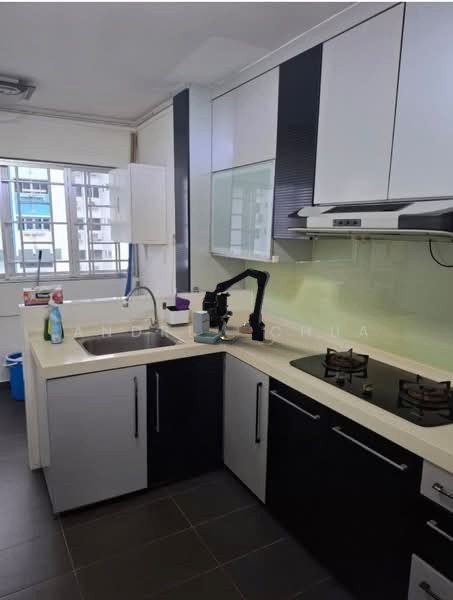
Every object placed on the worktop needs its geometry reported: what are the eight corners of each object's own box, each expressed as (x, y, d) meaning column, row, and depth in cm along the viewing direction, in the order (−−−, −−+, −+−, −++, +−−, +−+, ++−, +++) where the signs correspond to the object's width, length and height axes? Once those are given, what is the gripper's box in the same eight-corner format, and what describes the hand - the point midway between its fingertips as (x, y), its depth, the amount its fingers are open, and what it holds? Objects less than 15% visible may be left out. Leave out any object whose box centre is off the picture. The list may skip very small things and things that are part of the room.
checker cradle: (237, 340, 227) (237, 337, 226) (231, 344, 218) (231, 341, 218) (223, 338, 230) (223, 335, 230) (216, 342, 222) (216, 339, 221)
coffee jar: (218, 327, 256) (218, 299, 253) (201, 327, 256) (201, 299, 253) (218, 323, 267) (219, 297, 264) (202, 323, 267) (202, 297, 264)
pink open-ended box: (254, 331, 246) (254, 325, 245) (250, 334, 239) (250, 328, 239) (243, 330, 248) (243, 324, 248) (239, 333, 242) (239, 326, 241)
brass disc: (236, 337, 226) (237, 335, 226) (231, 340, 218) (231, 339, 218) (223, 335, 229) (223, 334, 229) (217, 339, 222) (217, 337, 221)
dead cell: (250, 331, 245) (251, 322, 244) (248, 332, 241) (248, 323, 240) (244, 330, 246) (244, 321, 245) (242, 332, 243) (242, 323, 242)
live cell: (226, 334, 235) (226, 320, 233) (224, 336, 231) (224, 321, 229) (219, 333, 236) (219, 319, 235) (216, 335, 232) (216, 321, 231)
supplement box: (201, 334, 239) (201, 313, 237) (192, 332, 244) (192, 312, 242) (209, 331, 245) (209, 311, 243) (200, 330, 249) (200, 310, 247)
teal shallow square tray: (221, 338, 230) (221, 333, 229) (213, 343, 219) (213, 338, 218) (203, 336, 234) (203, 331, 234) (193, 341, 223) (193, 336, 223)
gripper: (215, 300, 242) (215, 325, 245) (202, 305, 225) (202, 332, 227) (233, 301, 238) (232, 327, 240) (220, 306, 221) (220, 334, 223)
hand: (221, 330), depth 233 cm, fingers closed on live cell, 4 cm apart
